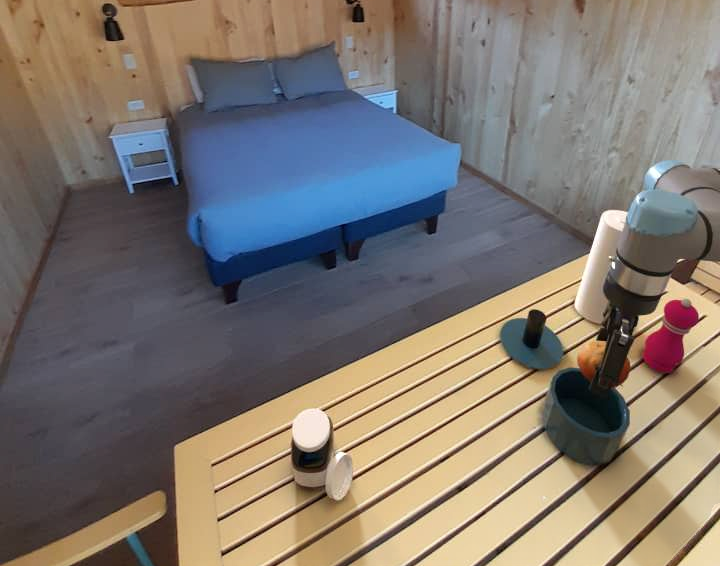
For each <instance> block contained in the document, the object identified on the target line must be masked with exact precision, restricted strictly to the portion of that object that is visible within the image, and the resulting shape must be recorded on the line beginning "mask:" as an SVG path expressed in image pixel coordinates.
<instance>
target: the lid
mask: <svg viewBox="0 0 720 566" xmlns="http://www.w3.org/2000/svg"><path fill="white" fill-rule="evenodd" d="M547 319H548V317H547V316H546V313H544V312H543V311H541V310H540V309H535V308H534V309H530V310H529V311H528V314H527V318H525V317H517V318H511V319H509V320H507V321H506V322H505V323H504V324H503V325H502V326H501V328H500V331H499V339H500V340H499V341H500V344H501V346H502V348H503V350H504V351H505V352H506V354H507V355H508V356H509V357H510V358H511V359H512V360H513V361H515V362H516V363H518V364H520V365H522V366H523V367H526V368H529V369H532V370H538V371H546V370H547V371H548V370H551V369H554V368H555V367H557V366H558V365H560V363H561V362H562V359H563V356H564V347H563V344H562V342H561V340H560V338H559V336H557V335H556V333H555V332H554V331H553V330H552V329H551V328H550V327H548V326H546V323H547Z"/></svg>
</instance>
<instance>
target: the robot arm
mask: <svg viewBox="0 0 720 566" xmlns="http://www.w3.org/2000/svg"><path fill="white" fill-rule="evenodd" d="M643 184H644V188H645V190H642V191H640V192H639V193H638V194H637V195H636V196H635V197H634V199H633V202H631V204H630V208H629V210H628V211H627V212H628V213H627V215H626V221H625V224H624V227H623V230H622V233H621V236H620V239H619V242H618V245H617V249H616V252H615V256H611V255H610V256H609V258H608V260H609V261H610V262H612V263H611V266H610V271H609V272H608V274H607V276H606V279H605V282H604V285H603V293H604V295H605V297H606V298H607V300H608V303H607V306H606V308H605V310H604V312H603V317H605V318H604V319H603V321H602V323H601V324H600V325H601V327H600V328H599V331H598V334H597V336H596V339H595V341H606V345H605V349H604V353H603V356H602V360H601V364H598V365H596V364H595V365H594V369H595V370H596V371H595V374H594V377H593V379H592V382H591V384H590V387H589V392H592V393H594V394H596V395H599V396H601V397H603V398H607V396H608V393H609V391H610V389H611V386H612V384H613V383H614V384H618V383H619V378H620V375H621V372H622V370H623V367H624V364H625V361H626V358H627V357H628V355H629V353H630V350H631V348H632V346H633V344H634V343H635V340H636V339H635V336H634V330H635V328H636V327H637V326H638V324H639V319H640V318H639V316H648V315H651V314H653V313H654V312H655V311H657V310H656V309H657V308H658V305H659V303H660V301H661V299H662V296H663V293H664V292H665V290H666V288H667V286H668V284H669V281H670V279H671V277H672V274H673V272H674V269H675V268H676V265H677V263H678V261H679V260H688V261H703V262H714V263H720V167H707V168H706V167H703V168H691V166H689V165H688V164H686V163H683V162H682V161H678V160H674V159H668V160H663V161H659V162H658V163H656V164H654V165H653V166H651V167H650V168H649V169H648V170H647V172H646V174H645V176H644V179H643Z"/></svg>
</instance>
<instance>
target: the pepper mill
mask: <svg viewBox="0 0 720 566" xmlns="http://www.w3.org/2000/svg"><path fill="white" fill-rule="evenodd" d="M663 313H664V314H663V317H662V318H661V322H662V326H661V327H660V328H659V329H658V330H656V331H654V332H651V333H650V334H649V335H648V336H647V337H646V339H645V342H644V346H645V347H644V349H643V352H642V359H643V361H644V362H645V364H646V365H648V367H650V368H651V369H653V370H654V371H656V372H659V373H662V374H671V373H673V372H674V371H675V369H676V367H677V365H679V364H680V363H681V362H683V360H684V356H685V347H684V336H685V335H688V334H689V333H690V331H691V329H692V328H693V327H695V326H696V325H697V324H698V322H699V320H700V315H699V312H698V310H697V309H696V307H695V306H693V305H692V301H691V300H690V299H689V298H682V299H671V300H669V301H667V302H666V303H665V305H664V307H663Z"/></svg>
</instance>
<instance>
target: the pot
mask: <svg viewBox="0 0 720 566" xmlns="http://www.w3.org/2000/svg"><path fill="white" fill-rule="evenodd" d="M590 384H591V382H590V381H589V380H588V379H587V378H586V377H585V376H584V375H583V374H582V372H581V371H580V368H579V367H571V366H570V367H566V368H561V369H559V370H557V372H555V374H554V375H553V376H552V377H551V380H550V383H549V386H548V390H547V392H546V396H545V399H544V403H543V407H542V411H541V420H542V425H543V427H544V431H545V432H546V434H547V436H548V438H549V439H550V441H551V442H552V443H553V444H554V446H555V447H556V448H557V449H558V450H559V451H560V452H561V453H563V454H564V455H565V456H566V457H568V458H570V459H571V460H572V461H575V462H577V463H579V464H583V465H586V466H593V467H596V466H597V467H598V466H603V465H606V464H608V463H609V462H611V461H612V459H613V458H614V456H615V455H616V454H617V452H618V450H619V448H620V446H621V444H622V442H623V439H624V438H625V436H626V433H627V432H628V430H629V428H630V426H631V411H630V409H629V406H628V404H627V402H626V399H625V397H624V396H623V395H622V394H621V392H620V391H619V390H618V389H617V387H614V388H611V389H610V391H609V393H608V396H607V398H603V397H601V396H599V395H596V394H594V393H592V392H589V387H590Z"/></svg>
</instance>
